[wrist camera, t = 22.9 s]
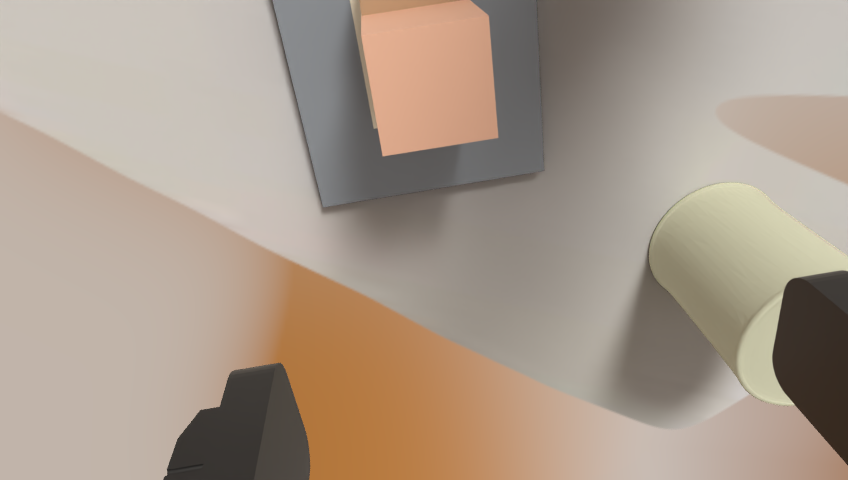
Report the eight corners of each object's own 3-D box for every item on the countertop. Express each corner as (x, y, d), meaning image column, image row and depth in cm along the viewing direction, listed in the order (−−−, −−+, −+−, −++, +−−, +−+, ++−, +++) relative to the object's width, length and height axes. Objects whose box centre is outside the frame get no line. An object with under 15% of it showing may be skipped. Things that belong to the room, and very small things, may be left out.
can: (760, 290, 45) (880, 404, 35) (640, 301, 45) (725, 421, 34) (790, 176, 41) (938, 268, 30) (657, 187, 40) (761, 284, 30)
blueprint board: (244, -126, 30) (240, -128, 29) (523, -171, 30) (529, -173, 29) (324, 200, 39) (323, 207, 38) (540, 165, 39) (544, 171, 38)
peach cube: (361, 15, 28) (361, 35, 23) (468, -1, 28) (488, 15, 23) (379, 120, 30) (382, 156, 26) (478, 105, 30) (498, 137, 26)
